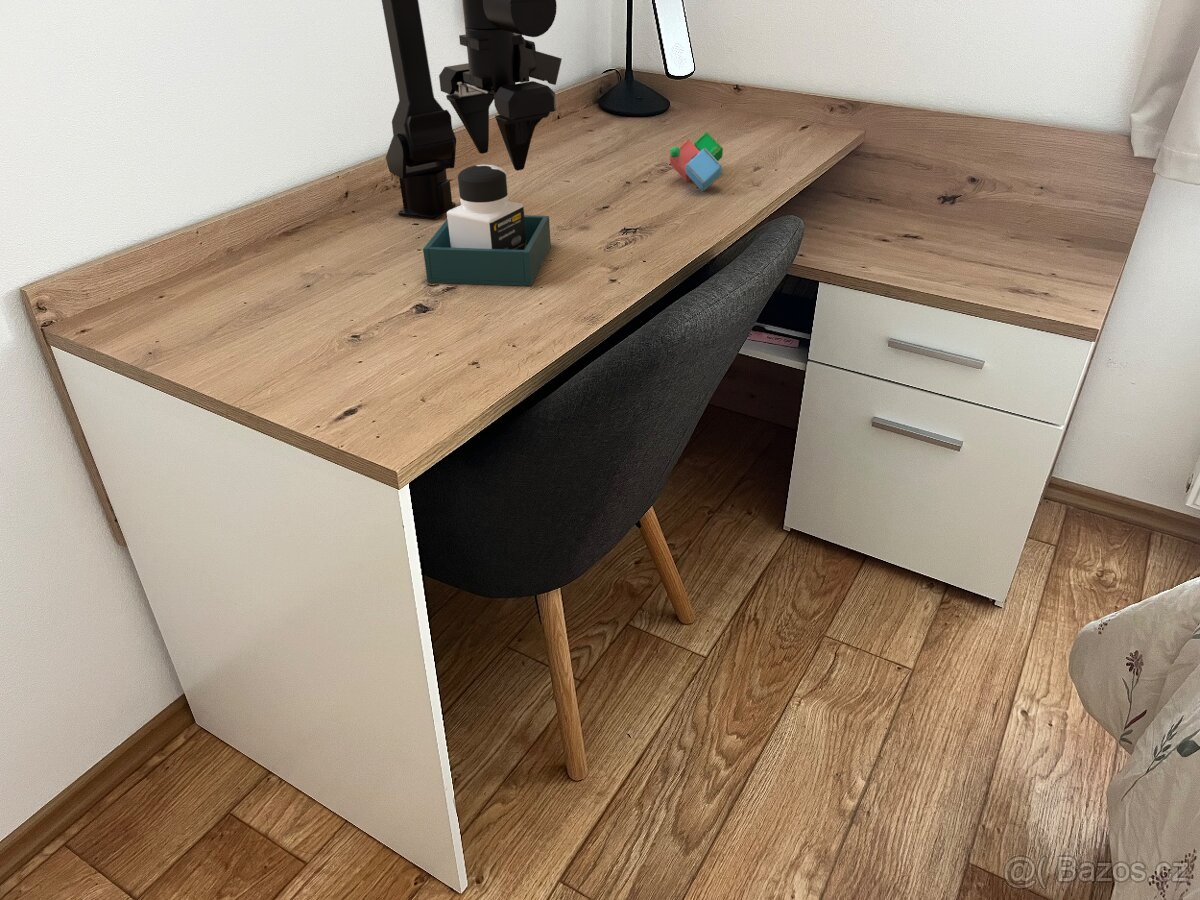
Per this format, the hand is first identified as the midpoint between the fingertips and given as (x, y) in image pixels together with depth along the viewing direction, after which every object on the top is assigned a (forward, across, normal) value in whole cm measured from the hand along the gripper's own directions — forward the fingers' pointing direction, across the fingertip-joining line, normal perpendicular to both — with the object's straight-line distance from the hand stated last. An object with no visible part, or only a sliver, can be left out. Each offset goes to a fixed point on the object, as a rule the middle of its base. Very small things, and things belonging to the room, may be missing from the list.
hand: (501, 161), depth 117 cm
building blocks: (+13, +10, -41) cm, 44 cm away
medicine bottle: (+13, 0, +3) cm, 13 cm away
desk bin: (+13, 0, +3) cm, 13 cm away
